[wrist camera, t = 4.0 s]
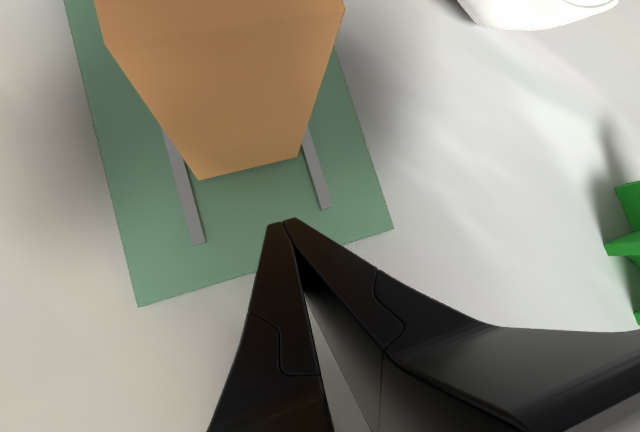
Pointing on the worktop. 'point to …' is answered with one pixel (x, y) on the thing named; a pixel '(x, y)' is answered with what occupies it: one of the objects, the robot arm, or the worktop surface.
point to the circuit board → (217, 180)
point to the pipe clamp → (636, 245)
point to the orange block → (225, 72)
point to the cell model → (531, 12)
